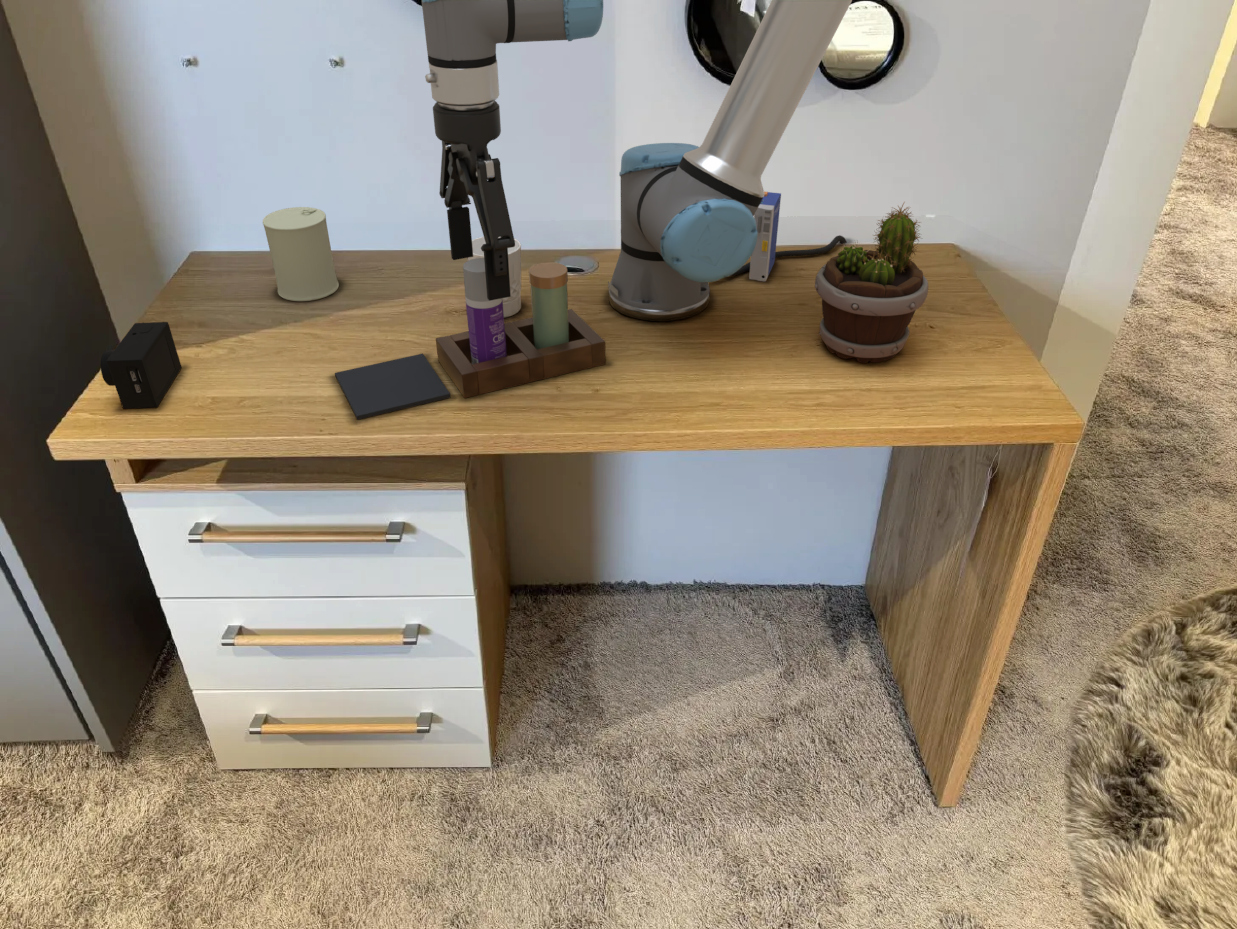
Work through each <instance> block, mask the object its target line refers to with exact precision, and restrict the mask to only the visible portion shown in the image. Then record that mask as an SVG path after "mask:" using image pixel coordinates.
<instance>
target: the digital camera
mask: <svg viewBox="0 0 1237 929" xmlns="http://www.w3.org/2000/svg"><path fill="white" fill-rule="evenodd" d="M181 369H182V364H181V361H180V357H179V354H178V351H177V347H176V344H175V341H174V337H173V334H172V330H171V327H170V324H169V322H168V321H155V322H134V324H133V325H132V326H131V327H130V328H129V330H128V331H127V333H126V334H125V336H124V337H123V338H122V339H121V341H120V342H119V344H118V345H117V346H116V348H114V349H113V350H112V349H109V350H105V351H103V352H102V354H101V358H100V373H101V377H102V379H103V381H104V383H105V384H106V385H107V386H110V387H115V389H116V393H117V396H118V398H119V401H120V404H121V407H122V409H123V410H124V409H125V410H128V409H151V408H152V409H154V408H158V407H159V406H160V404H161V402H162V400H163V399H164V398H165V395H167V393H168V391H169V389H170V388H171V386H172V384H173V383H174V381H175V379H176V378H177V376H178V374H179V373H180V372H181Z"/></svg>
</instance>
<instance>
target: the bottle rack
mask: <svg viewBox="0 0 1237 929" xmlns="http://www.w3.org/2000/svg"><path fill="white" fill-rule="evenodd" d="M568 322H569V342H567V343H563V344H559V345H554V346H550V347H545V348H541V349H536V348H535V347H534V336H533V319H532V317H528V318H523V319H519V320H513V321H509V322H504V326H505V339H506V352H507V356H506V357H502V358H498V359H493V360H489V361H485V362H480V363H476V364H472V359H471V349H470V340H469V330H467V331H463V332H458V333H453V334H449V335H445V336H440V337H436V338H435V346H436V352H437V353H436V354H437V361H438V363H439V364H440V365H441V367H442V368H443V370H444V371H445V373H446V374H447V376H448V377H449V378H450V380H451V381H452V383H453V384H454V386H455V387H456V388H457V390H458V391H459V392H460V394H461V395H462V396H463V398H464V399H467V398H472V397H476V396H479V395H483V394H488V393H491V392H496V391H500V390H504V389H508V388H513V387H518V386H521V385H525V384H529V383H533V382H537V381H542V380H546V379H549V378H554V377H558V376H562V375H566V374H570V373H571V374H572V373H575V372H579V371H582V370H586V369H590V368H596V367H600V366H604V365H606V340H604V338H602V336H601V335H600V334H598V333H597V332H596V331H595V330H594V329H593V328H592V327H591V326H590V325H589V324H588V323H587V322H586V321H585V320H584V319H583V318H582V317H581V316H580V315H579V314H578V313H577V312H576V311H575V310H574V309H573V308H568Z"/></svg>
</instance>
